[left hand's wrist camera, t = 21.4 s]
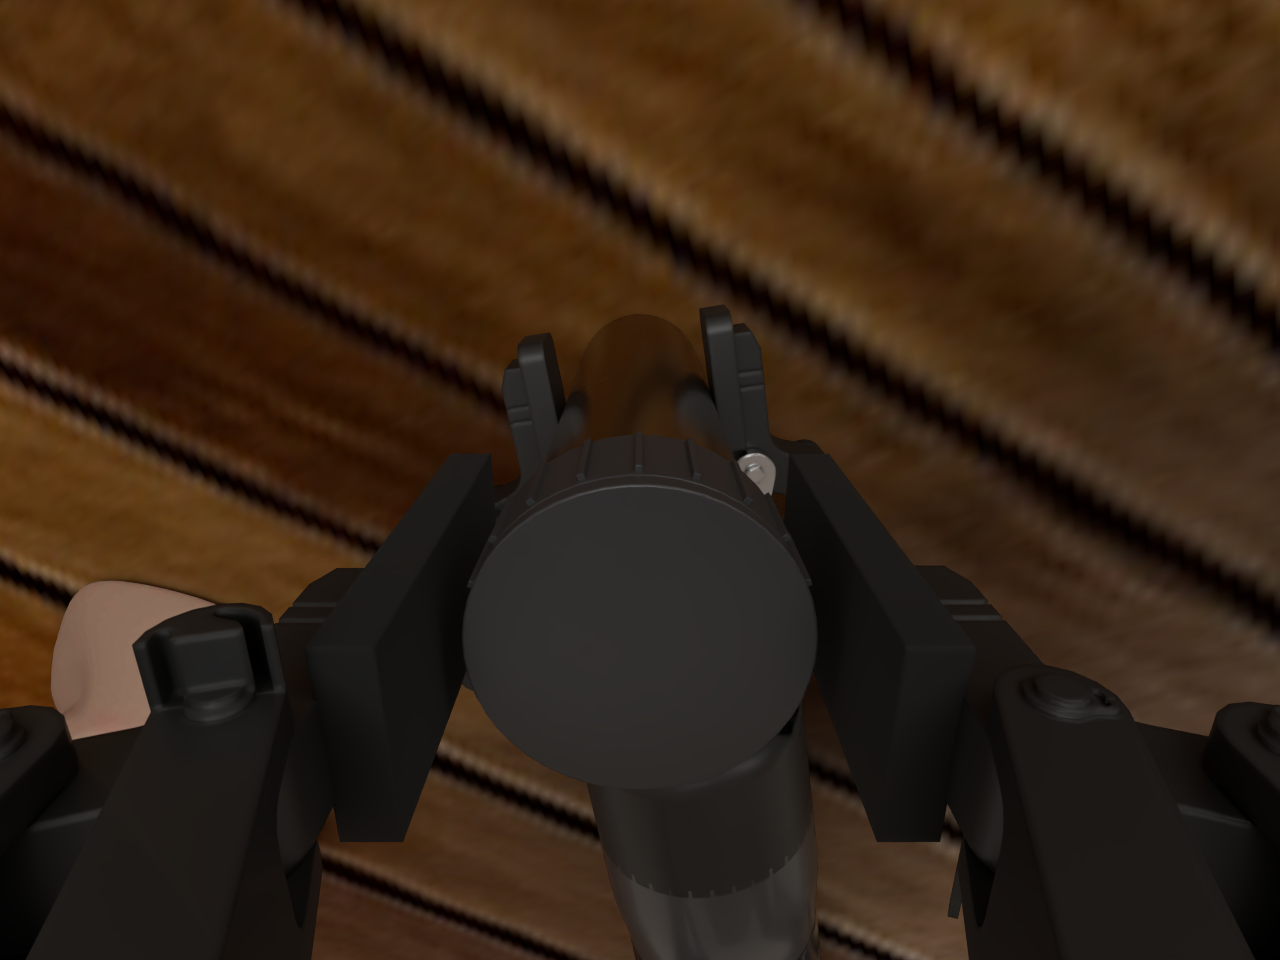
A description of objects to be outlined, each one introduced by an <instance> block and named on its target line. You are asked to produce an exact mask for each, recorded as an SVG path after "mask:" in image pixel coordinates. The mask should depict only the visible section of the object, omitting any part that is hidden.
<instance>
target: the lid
mask: <svg viewBox="0 0 1280 960" xmlns="http://www.w3.org/2000/svg"><path fill="white" fill-rule="evenodd" d="M811 585H812V582H811V579H810V576H809V574H808V572H807V570H806V568H805V565H804V563H803V561H802V559H801V557H800V555H799V552H798V550H797V548H796V546H795V544H794V541H793V539H792V537H791V535H790V533H788V531H787V529H786V527H785V525H784V522H783V520H782V518H781V516H780V513H779V511H778V509H777V507H776V505H775V502H774V500H773V498H772V496H771V495H770V493H769V492H768V493H766V494H765V495H764V494H763V492H762V491H761V490H760V488H759V487H758V486H757V485H756V484H755V483H754V482H753V481H752V480H751V479H750V478H749V477H748V476H747V475H746V474H745V473H744V472H743V471H742V470H741V468H740V466H739V463H738V462H737V461H735V460H734V459H733V460H732V461H731V462H730V461H728V460H727V459H725V458H723V457H721V456H720V455H718V454H716V453H714V452H713V451H711V450H708V449H706V448H703V447H701V446H698V445H696V444H694V440H693V439H690V438H687V440H686V441H683V440H679V439H675V438H671V437H663V436H656V435H643V432H642V431H636V432H635V435H625V436H616V437H609V438H605V439H601V440H597V441H593V442H592V440H591V438H590V439H587V440H585V441H584V445H582V446H579V447H576V448H574V449H571V450H569V451H568V452H566V453H564V454H562V455H560V456H558V457H557V458H555V459H553V460H552V461H550V462H549V463H547V462H546V460H544V461H543V462H542V463H540V465H539V468H538V470H537V472H536V473H535V474H534V475H533V476H532V477H531V478H530V479H529V480H528V481H527V482H526V483H524V484H523V486H522V487H521V488H520V490H519V491H518V492H517V493H516V495H515V496H514V495H512V494H510V495H509V496H508V497H507V499H506V502H505V504H504V506H503V508H502V510H501V513H500V515H499V517H498V519H497V521H496V523H495V526H494V528H493V530H492V532H491V534H490V535H489V537H488V540H487V542H486V544H485V546H484V548H483V551H482V553H481V555H480V557H479V559H478V561H477V564H476V566H475V568H474V570H473V572H472V575H471V577H470V579H469V581H468V585H467V587H469V588H471V589H470V592H469V595H468V597H467V601H466V606H465V610H464V615H463V625H462V647H463V658H464V662H465V666H466V670H467V674H468V678H469V680H470V683H471V685H472V688H473V690H474V693H475V695H476V697H477V699H478V701H479V702H480V704H481V706H482V707H483V709H484V711H485V713H486V714H487V715H488V717H489V718H490V719H491V721H492V722H493V723H494V724H495V726H496V727H497V728H498V730H499V731H500V732H501V733H502V734H503V735H504V736H505V737H506V738H507V739H508V740H509V741H510V742H511V743H512V744H514V745H515V746H516V747H518V748H519V749H520V750H521V751H523V752H524V753H525V754H527V755H528V756H529V757H531V758H532V759H534V760H536V761H537V762H539V763H541V764H542V765H544V766H546V767H548V768H550V769H552V770H554V771H556V772H559V773H561V774H563V775H565V776H568V777H571V778H574V779H577V780H580V781H583V782H586V783H590V784H595V785H600V786H604V787H611V788H620V789H646V790H650V789H660V788H670V787H675V786H680V785H685V784H690V783H694V782H697V781H700V780H703V779H706V778H709V777H712V776H715V775H717V774H719V773H721V772H724V771H726V770H728V769H730V768H732V767H734V766H736V765H737V764H739V763H741V762H743V761H744V760H746V759H748V758H749V757H751V756H752V755H753V754H755V753H756V752H757V751H759V750H760V749H761V748H763V747H764V746H765V745H766V744H767V743H768V742H769V741H770V740H771V739H772V738H773V737H775V736H776V735H777V734H778V733H779V732H780V731H781V729H782V728H783V727H784V726H785V724H786V723H787V722H788V721H789V719H790V718H791V717H792V716H793V714H794V712H795V711H796V709H797V707H798V706H799V704H800V702H801V701H802V699H803V697H804V694H805V692H806V690H807V687H808V685H809V683H810V680H811V677H812V673H813V669H814V666H815V662H816V655H817V646H818V626H817V616H816V611H815V606H814V601H813V598H812V595H811V592H810V590H809V587H808V586H811Z"/></svg>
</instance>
